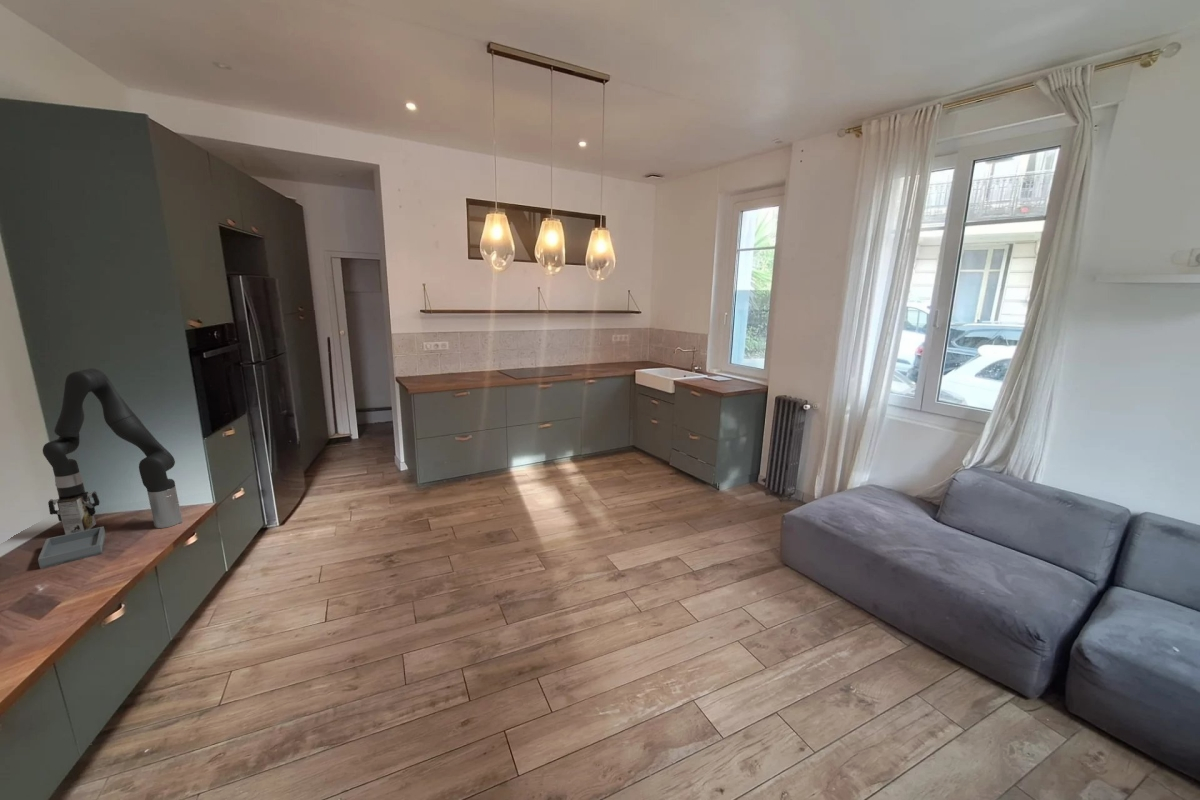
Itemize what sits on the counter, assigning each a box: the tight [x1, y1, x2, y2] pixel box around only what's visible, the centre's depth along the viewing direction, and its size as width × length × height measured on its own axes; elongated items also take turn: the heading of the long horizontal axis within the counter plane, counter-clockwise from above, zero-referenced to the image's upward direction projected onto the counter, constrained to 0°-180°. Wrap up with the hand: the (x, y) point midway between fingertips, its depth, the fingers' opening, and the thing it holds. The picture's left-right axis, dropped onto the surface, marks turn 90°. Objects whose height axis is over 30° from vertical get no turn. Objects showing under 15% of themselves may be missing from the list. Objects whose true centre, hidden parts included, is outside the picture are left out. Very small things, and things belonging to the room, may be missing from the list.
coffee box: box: [56, 491, 97, 535], centre depth 200 cm, size 9×6×16 cm
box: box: [37, 526, 106, 570], centre depth 186 cm, size 16×20×4 cm
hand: (78, 518), depth 200 cm, fingers open, 8 cm apart
